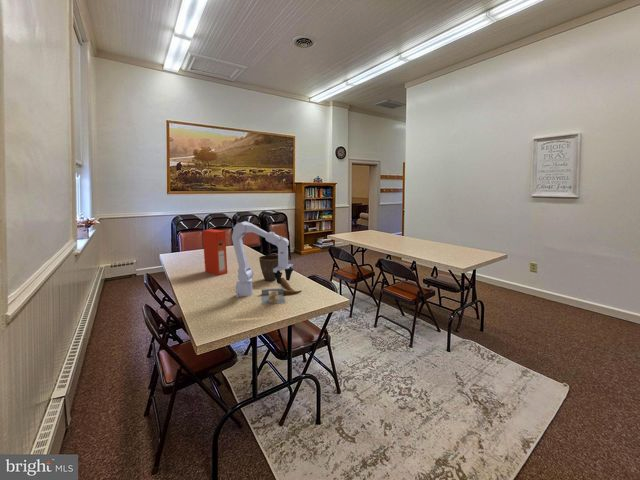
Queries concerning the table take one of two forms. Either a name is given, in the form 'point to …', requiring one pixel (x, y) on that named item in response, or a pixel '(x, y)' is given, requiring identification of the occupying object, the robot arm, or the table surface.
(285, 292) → the hammer
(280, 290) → the wall board
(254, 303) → the table surface
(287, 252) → the robot arm
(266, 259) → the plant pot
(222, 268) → the file binder
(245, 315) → the table surface
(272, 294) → the cabinet block
